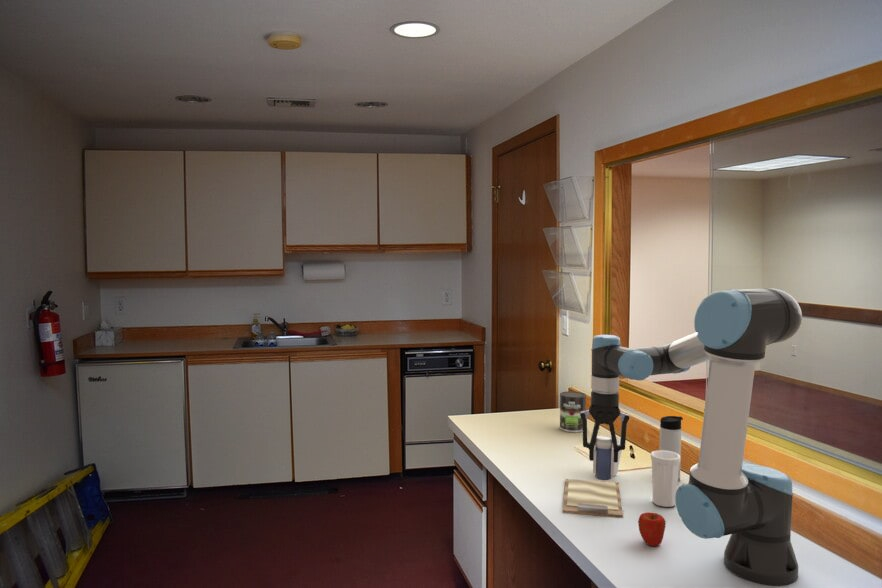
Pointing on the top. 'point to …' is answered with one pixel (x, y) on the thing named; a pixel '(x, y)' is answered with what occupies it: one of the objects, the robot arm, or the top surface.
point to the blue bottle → (603, 458)
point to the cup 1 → (616, 465)
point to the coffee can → (572, 411)
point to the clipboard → (592, 498)
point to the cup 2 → (664, 477)
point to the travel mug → (671, 435)
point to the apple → (652, 528)
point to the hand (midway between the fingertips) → (603, 472)
